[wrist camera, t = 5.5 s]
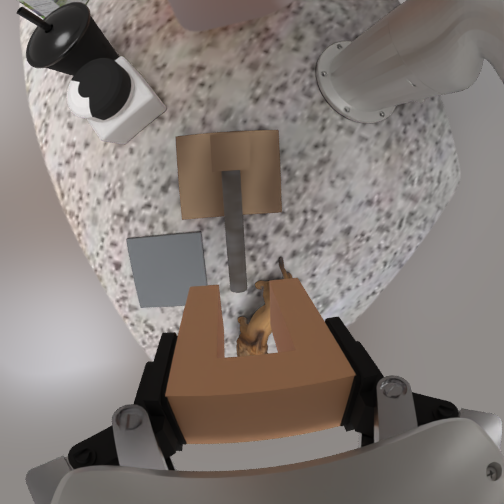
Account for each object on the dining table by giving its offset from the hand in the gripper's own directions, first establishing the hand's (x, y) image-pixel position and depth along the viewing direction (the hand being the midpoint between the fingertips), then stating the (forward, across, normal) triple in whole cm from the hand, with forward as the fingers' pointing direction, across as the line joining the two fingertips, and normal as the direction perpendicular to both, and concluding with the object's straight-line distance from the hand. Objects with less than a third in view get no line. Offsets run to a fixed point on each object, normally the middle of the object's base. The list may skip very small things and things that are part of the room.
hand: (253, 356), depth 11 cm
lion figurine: (+25, -3, +12) cm, 27 cm away
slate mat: (+24, +9, +5) cm, 26 cm away
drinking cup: (+25, +16, -24) cm, 38 cm away
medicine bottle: (+25, +12, -17) cm, 32 cm away
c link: (+4, 0, 0) cm, 4 cm away
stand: (+24, 0, -4) cm, 25 cm away
